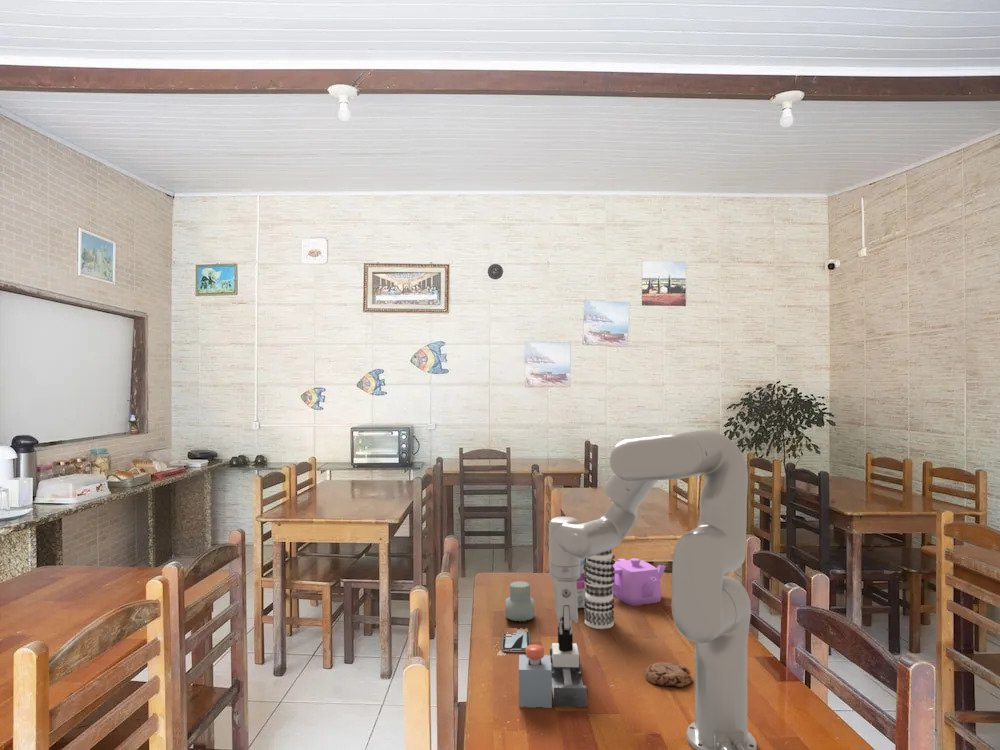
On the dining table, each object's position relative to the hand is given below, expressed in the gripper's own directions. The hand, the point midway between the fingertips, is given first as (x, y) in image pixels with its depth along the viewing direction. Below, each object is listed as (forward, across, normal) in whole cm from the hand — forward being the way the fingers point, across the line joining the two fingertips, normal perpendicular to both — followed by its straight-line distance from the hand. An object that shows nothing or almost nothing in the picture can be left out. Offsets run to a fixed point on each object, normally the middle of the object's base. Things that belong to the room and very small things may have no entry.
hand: (565, 646), depth 143 cm
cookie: (+7, -2, -24) cm, 25 cm away
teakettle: (+7, +51, -27) cm, 58 cm away
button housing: (+6, -12, +8) cm, 15 cm away
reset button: (+1, -12, +8) cm, 14 cm away
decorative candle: (+7, +30, -12) cm, 33 cm away
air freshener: (+7, +33, +11) cm, 36 cm away
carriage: (+5, 0, 0) cm, 5 cm away
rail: (+6, -5, 0) cm, 8 cm away
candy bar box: (+7, +45, -5) cm, 46 cm away
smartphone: (+7, +18, +12) cm, 23 cm away
